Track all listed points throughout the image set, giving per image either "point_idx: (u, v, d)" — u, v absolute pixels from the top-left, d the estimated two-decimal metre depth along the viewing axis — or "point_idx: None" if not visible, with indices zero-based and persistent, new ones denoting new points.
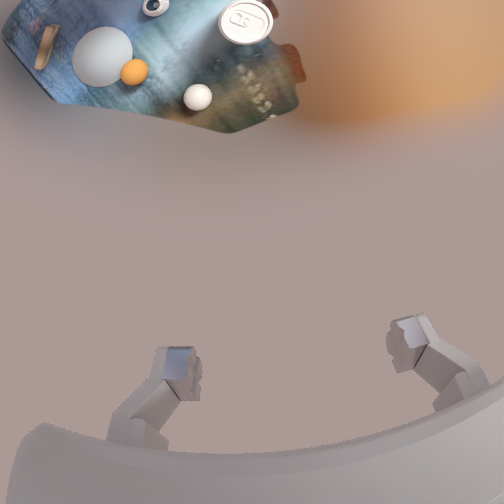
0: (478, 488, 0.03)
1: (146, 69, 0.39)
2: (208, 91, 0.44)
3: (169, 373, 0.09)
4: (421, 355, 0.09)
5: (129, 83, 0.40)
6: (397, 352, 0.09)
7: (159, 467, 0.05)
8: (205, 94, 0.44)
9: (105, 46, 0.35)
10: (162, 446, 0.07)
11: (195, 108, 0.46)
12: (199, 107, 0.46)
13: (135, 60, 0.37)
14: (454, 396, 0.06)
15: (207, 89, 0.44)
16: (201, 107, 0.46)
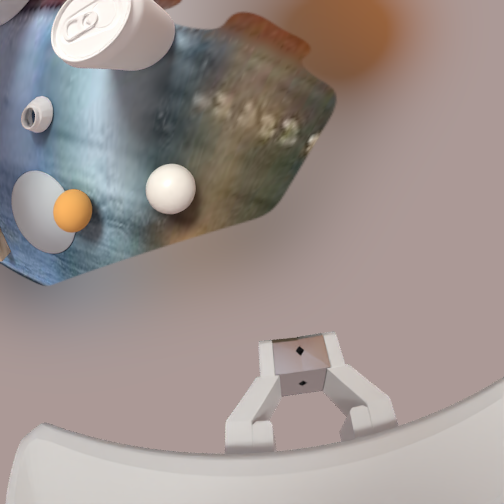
0: (478, 488, 0.03)
1: (79, 197, 0.28)
2: (174, 169, 0.26)
3: (282, 367, 0.09)
4: (325, 378, 0.09)
5: (72, 230, 0.28)
6: None
7: (159, 467, 0.05)
8: (171, 176, 0.26)
9: (34, 199, 0.30)
10: (275, 447, 0.07)
11: (174, 209, 0.27)
12: (177, 204, 0.27)
13: (60, 195, 0.27)
14: (350, 431, 0.06)
15: (171, 167, 0.26)
16: (181, 201, 0.27)
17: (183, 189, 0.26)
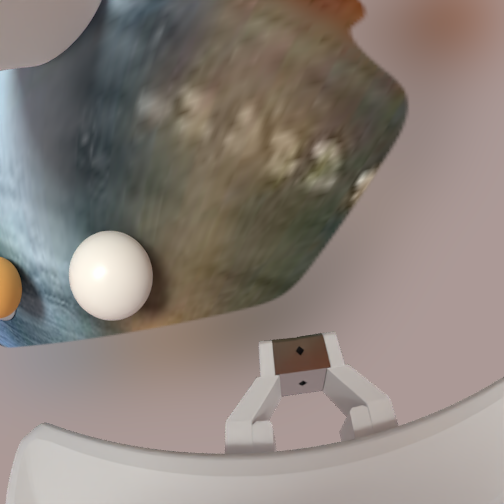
0: (478, 488, 0.03)
1: None
2: (106, 250, 0.13)
3: (283, 367, 0.09)
4: (325, 378, 0.09)
5: None
6: None
7: (159, 467, 0.05)
8: (99, 266, 0.13)
9: None
10: (275, 447, 0.07)
11: (117, 318, 0.14)
12: (120, 313, 0.14)
13: None
14: (350, 431, 0.06)
15: (101, 244, 0.13)
16: (126, 308, 0.14)
17: (125, 290, 0.13)
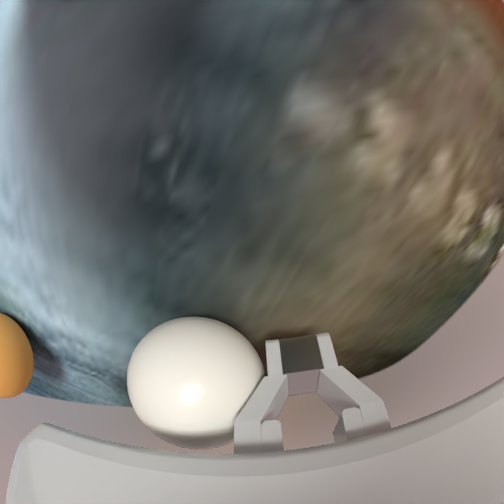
0: (478, 488, 0.03)
1: None
2: (208, 378, 0.08)
3: (290, 367, 0.09)
4: (318, 379, 0.09)
5: None
6: None
7: (159, 467, 0.05)
8: (197, 408, 0.07)
9: None
10: None
11: None
12: None
13: None
14: (342, 433, 0.07)
15: (198, 366, 0.08)
16: (228, 442, 0.08)
17: None
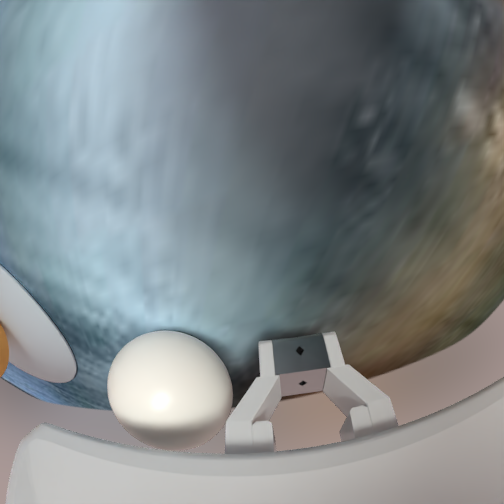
0: (478, 488, 0.03)
1: None
2: (112, 367, 0.09)
3: (282, 367, 0.09)
4: (325, 378, 0.09)
5: None
6: None
7: (159, 467, 0.05)
8: (120, 351, 0.10)
9: None
10: (275, 447, 0.07)
11: None
12: None
13: None
14: (350, 431, 0.06)
15: (117, 369, 0.09)
16: None
17: None
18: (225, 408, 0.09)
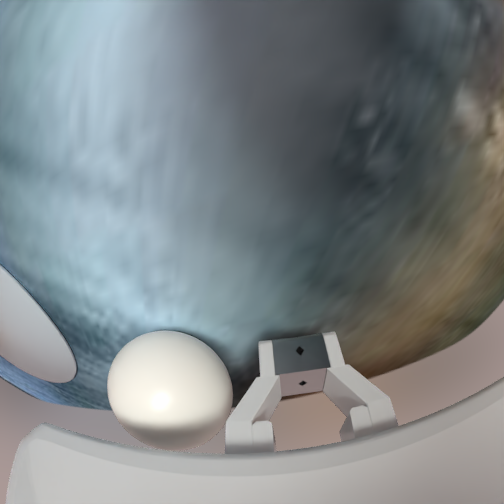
0: (478, 488, 0.03)
1: None
2: (112, 367, 0.09)
3: (282, 367, 0.09)
4: (325, 378, 0.09)
5: None
6: None
7: (159, 467, 0.05)
8: (120, 351, 0.10)
9: None
10: (275, 447, 0.07)
11: None
12: None
13: None
14: (350, 431, 0.06)
15: (117, 369, 0.09)
16: None
17: None
18: (225, 408, 0.09)
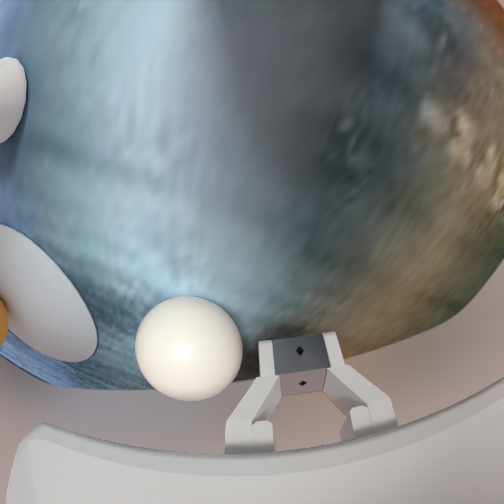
0: (478, 488, 0.03)
1: None
2: (142, 325, 0.12)
3: (282, 368, 0.09)
4: (325, 378, 0.09)
5: (4, 336, 0.14)
6: None
7: (159, 467, 0.05)
8: None
9: (9, 276, 0.14)
10: (275, 447, 0.07)
11: None
12: None
13: None
14: (350, 431, 0.06)
15: (146, 324, 0.12)
16: None
17: None
18: (236, 359, 0.12)
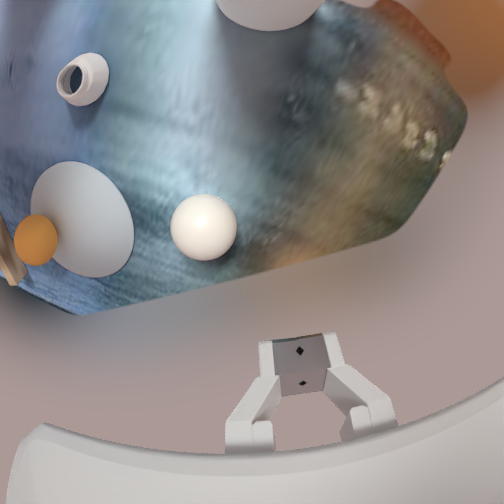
0: (478, 488, 0.03)
1: None
2: (177, 207, 0.21)
3: (282, 368, 0.09)
4: (325, 378, 0.09)
5: (53, 251, 0.23)
6: None
7: (159, 467, 0.05)
8: None
9: (68, 202, 0.23)
10: (275, 447, 0.07)
11: None
12: None
13: (24, 222, 0.20)
14: (350, 431, 0.06)
15: (181, 205, 0.21)
16: None
17: None
18: (233, 225, 0.21)
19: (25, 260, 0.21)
